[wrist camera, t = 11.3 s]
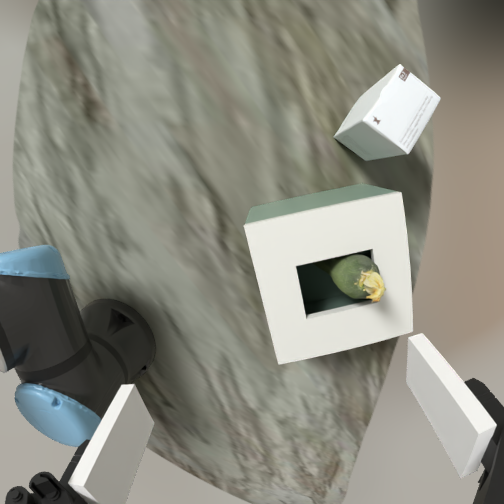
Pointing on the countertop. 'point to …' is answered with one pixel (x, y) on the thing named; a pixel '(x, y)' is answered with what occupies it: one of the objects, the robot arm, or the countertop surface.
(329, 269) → the vegetable
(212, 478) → the countertop surface
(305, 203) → the box
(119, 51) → the countertop surface
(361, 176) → the countertop surface
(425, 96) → the skincare box
